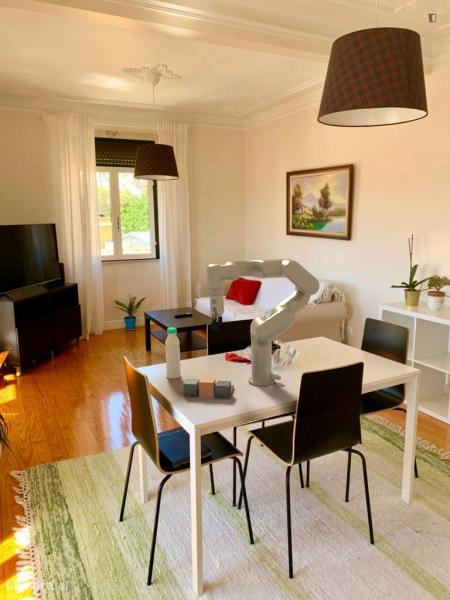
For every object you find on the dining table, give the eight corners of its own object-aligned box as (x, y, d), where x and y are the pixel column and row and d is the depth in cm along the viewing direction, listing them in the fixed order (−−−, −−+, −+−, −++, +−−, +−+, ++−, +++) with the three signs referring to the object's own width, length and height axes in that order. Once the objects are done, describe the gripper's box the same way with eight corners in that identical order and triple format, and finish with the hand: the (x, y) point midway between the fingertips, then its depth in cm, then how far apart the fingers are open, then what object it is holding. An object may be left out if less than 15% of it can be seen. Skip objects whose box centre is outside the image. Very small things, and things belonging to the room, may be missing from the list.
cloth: (217, 354, 263) (216, 351, 263) (238, 351, 268) (238, 348, 268) (233, 368, 239) (233, 364, 239) (257, 365, 244) (257, 361, 244)
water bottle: (178, 379, 223) (176, 330, 218) (164, 378, 224) (162, 329, 220) (182, 374, 230) (180, 326, 225) (169, 374, 231) (167, 326, 226)
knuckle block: (215, 393, 206) (215, 378, 204) (213, 397, 201) (213, 382, 199) (201, 392, 207) (201, 378, 205) (199, 397, 202) (198, 382, 200)
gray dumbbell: (236, 388, 211) (235, 375, 210) (231, 399, 199) (230, 386, 197) (189, 385, 215) (188, 373, 214) (181, 396, 203) (181, 383, 202)
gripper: (220, 294, 199) (221, 332, 202) (227, 287, 215) (228, 323, 219) (203, 294, 200) (205, 332, 203) (211, 287, 217) (212, 322, 220)
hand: (217, 327), depth 211 cm, fingers open, 9 cm apart
